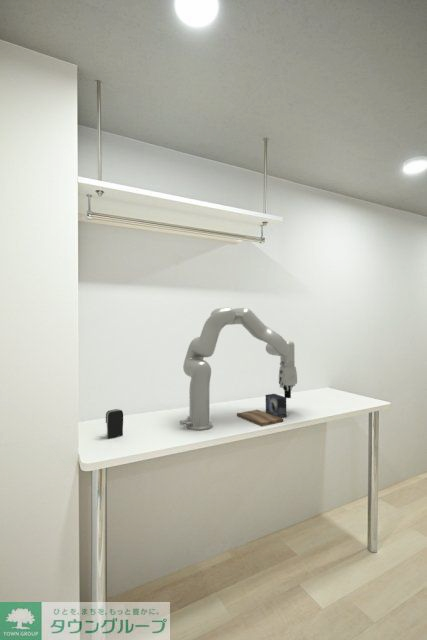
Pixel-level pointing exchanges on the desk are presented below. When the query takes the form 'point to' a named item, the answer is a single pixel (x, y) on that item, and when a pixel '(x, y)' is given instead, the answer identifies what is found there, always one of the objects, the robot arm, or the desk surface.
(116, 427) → the battery charger
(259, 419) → the board
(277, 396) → the small box
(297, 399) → the desk surface
